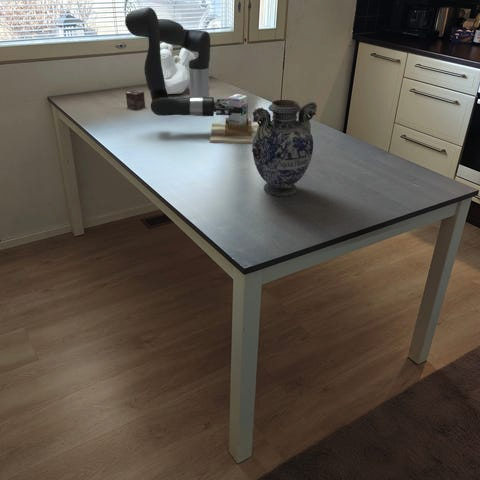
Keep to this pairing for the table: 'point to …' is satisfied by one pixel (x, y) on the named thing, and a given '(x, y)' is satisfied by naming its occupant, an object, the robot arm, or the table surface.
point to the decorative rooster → (175, 68)
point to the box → (135, 100)
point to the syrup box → (238, 101)
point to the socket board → (233, 132)
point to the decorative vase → (283, 145)
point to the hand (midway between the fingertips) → (242, 107)
